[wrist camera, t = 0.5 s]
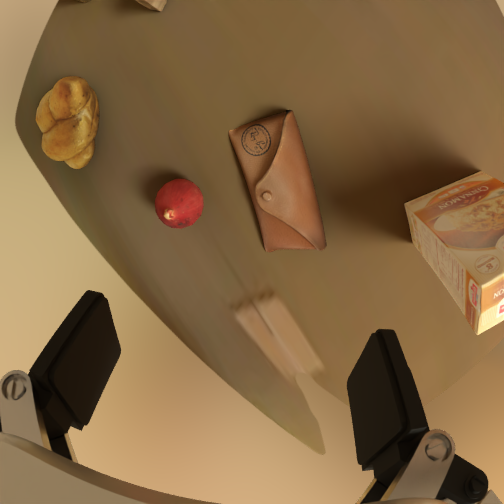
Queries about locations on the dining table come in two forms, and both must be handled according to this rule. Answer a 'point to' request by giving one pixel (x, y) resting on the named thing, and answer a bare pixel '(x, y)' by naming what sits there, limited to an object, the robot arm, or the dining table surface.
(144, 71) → the dining table surface
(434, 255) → the coffeecake box
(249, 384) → the dining table surface
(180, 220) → the red round fruit
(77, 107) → the bread roll
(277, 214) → the sunglasses case
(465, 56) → the dining table surface
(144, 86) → the dining table surface
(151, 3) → the strip
